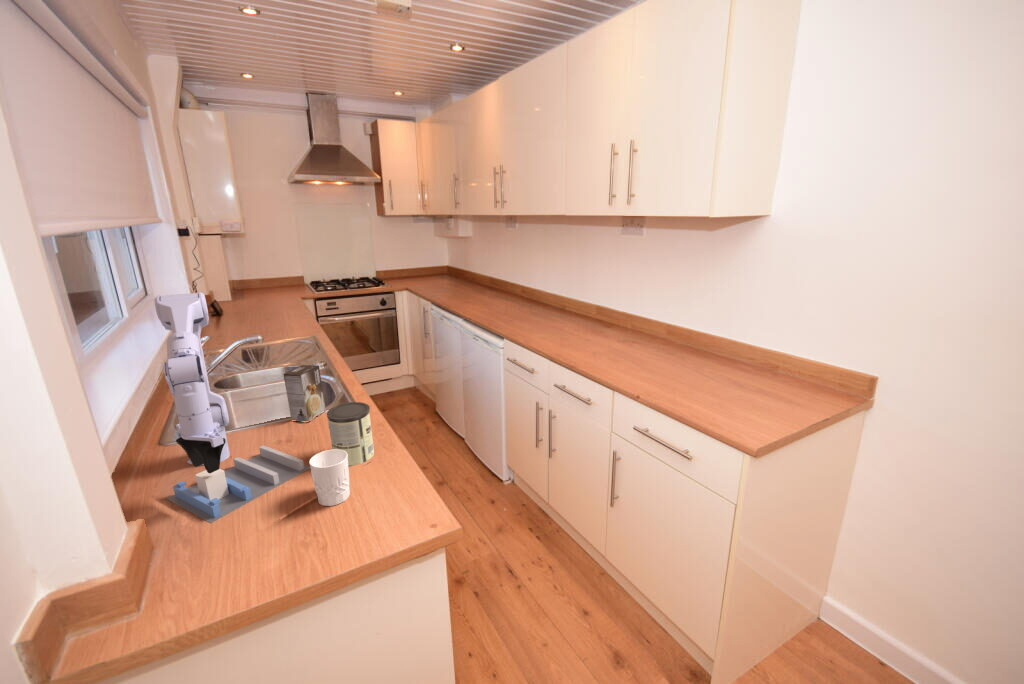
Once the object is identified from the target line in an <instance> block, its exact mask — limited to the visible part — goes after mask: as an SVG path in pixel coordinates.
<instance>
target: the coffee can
mask: <svg viewBox="0 0 1024 684" xmlns="http://www.w3.org/2000/svg"><path fill="white" fill-rule="evenodd" d="M370 410H371V408H370V405H369V404H367V403H366V402H359V401H351V402H344V403H339V404H337V405H335V406H333V407H332V408H330V409H328V410H327V412H326V418H327V422H328V429H329V435H330V437H329V438H330V441H331V448H332V449H340V450H344V451H346V452H347V454H348V467H351V466H358V465H361V464H364V463H366V462H368V461H369V462H368V463H366V464H364V465H363V467H365V466H366V465H369V464H370V463H371V461H370V460H371V459H372V458H373V457H374V455H375V449H374V447H375V446H374V440H373V433H372V432H373V431H372V422H371V414H370V413H371V412H370ZM332 449H331V450H332Z"/></svg>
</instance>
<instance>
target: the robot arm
mask: <svg viewBox="0 0 1024 684" xmlns="http://www.w3.org/2000/svg"><path fill="white" fill-rule="evenodd" d="M154 307H155V312H156V315H157V318H158V320H159V321H160V324H161V325H162V327H164V329H165V330H167V331H171V332H172V334H169V336H168V337H167V340H166V357H167V358H166V359H167V360H166V361H164V362H163V363H162V364H163V374H164V379H165V381H166V384H167V386H168V387H169V391H170V392H169V393H170V394H171V396H173V401H174V406H175V408H176V409H175V410H176V413H177V418H178V422H179V423H177V424H176V425H175V427H176V431H177V433H178V434H180V436H181V437H178V438H177V439H175V442H176V443H177V444H178V445H179V447H181V448H182V450H183V451H184V452H185V453H186V455H187V456H188V458H189V460H186V461H187V462H186V463H187V464H189V465H193V466H194V467H195V468H198V467H200V466H204V469H205V470H206V471H207V472H208V473H212V472H214V471H217V470H219V469H220V466H221V463H222V462H224V461H225V460H227V459H228V458H229V457H230V456H231V452H230V447H229V442H228V438H227V433H226V427H227V426H228V425H229V424H230V419H229V417H230V416H229V412H228V406H227V403H226V399H225V398H224V397H223V396H222V395H221V394H219V393H215V392H213V391H211V388H210V381H209V377H208V371H207V366H206V362H205V361H206V360H205V356H204V351H203V345H202V338H201V333H202V329H203V328H204V327H206V326H208V325H209V322H210V317H209V310H208V304H207V300H206V296H205V293H203V292H202V291H199V292H193V293H180V294H170V295H169V294H167V295H166V294H165V295H156V296H155V298H154Z"/></svg>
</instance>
